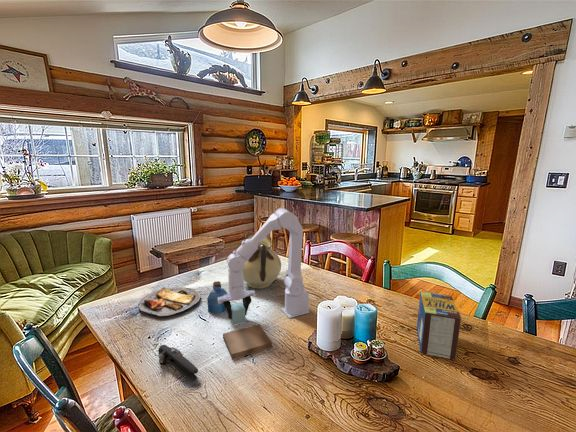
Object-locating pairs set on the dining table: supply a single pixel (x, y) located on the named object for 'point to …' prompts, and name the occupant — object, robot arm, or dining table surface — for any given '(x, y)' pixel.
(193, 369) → the can opener
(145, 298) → the food plate
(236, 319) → the blue block
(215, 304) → the perfume bottle
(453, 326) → the protein box
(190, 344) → the dining table surface
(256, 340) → the walnut block
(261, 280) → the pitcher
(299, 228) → the robot arm
